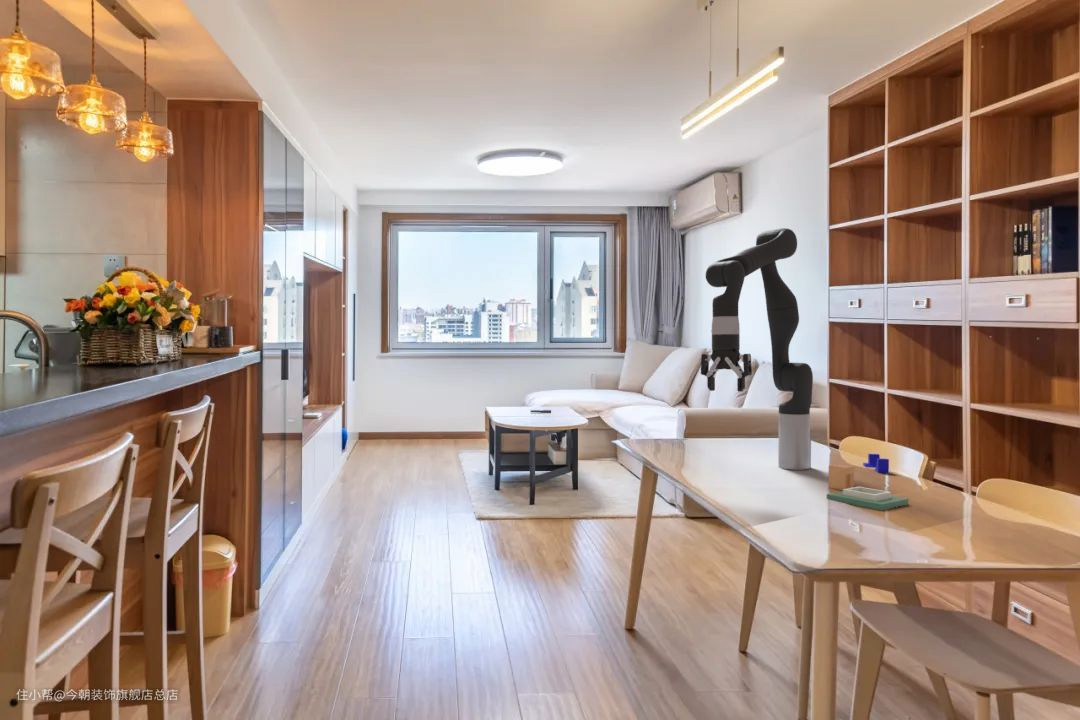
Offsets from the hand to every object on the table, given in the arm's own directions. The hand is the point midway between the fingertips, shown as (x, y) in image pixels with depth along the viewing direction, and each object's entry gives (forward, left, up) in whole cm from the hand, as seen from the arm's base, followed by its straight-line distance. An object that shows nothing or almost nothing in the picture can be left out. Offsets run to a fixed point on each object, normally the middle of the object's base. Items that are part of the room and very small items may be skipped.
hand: (725, 391), depth 200 cm
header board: (-17, +32, -28) cm, 45 cm away
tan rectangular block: (-25, +20, -28) cm, 42 cm away
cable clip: (-58, +10, -28) cm, 65 cm away
